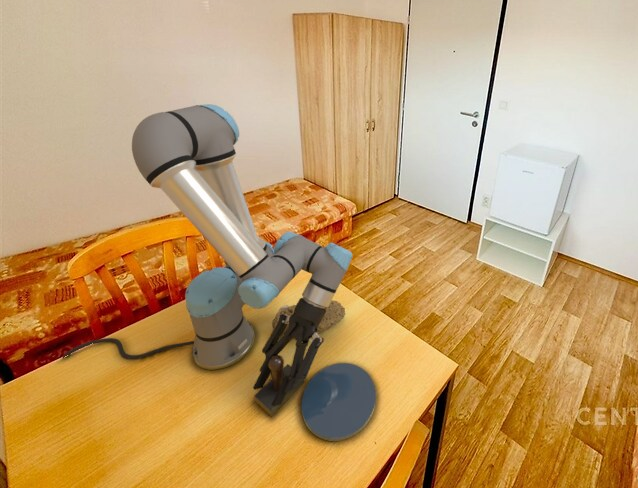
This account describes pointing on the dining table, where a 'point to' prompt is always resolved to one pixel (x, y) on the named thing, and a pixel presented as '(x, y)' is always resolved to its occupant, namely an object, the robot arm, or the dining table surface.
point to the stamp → (275, 385)
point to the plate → (338, 402)
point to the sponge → (330, 319)
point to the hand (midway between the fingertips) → (266, 395)
